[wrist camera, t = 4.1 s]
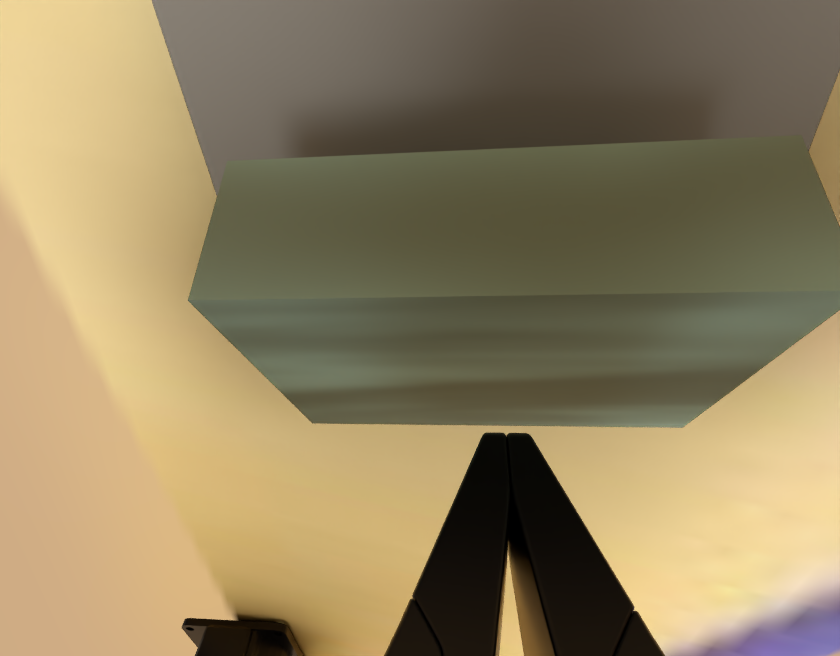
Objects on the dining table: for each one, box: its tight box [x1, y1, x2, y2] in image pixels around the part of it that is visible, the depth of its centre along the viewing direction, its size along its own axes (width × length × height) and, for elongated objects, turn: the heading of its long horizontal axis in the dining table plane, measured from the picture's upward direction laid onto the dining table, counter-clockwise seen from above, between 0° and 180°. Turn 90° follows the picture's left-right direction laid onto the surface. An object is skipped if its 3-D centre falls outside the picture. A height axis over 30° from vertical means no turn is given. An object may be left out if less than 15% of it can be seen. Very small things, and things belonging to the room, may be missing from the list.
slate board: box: [152, 0, 840, 195], centre depth 11 cm, size 11×14×1 cm
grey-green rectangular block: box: [188, 135, 840, 428], centre depth 11 cm, size 3×10×7 cm
